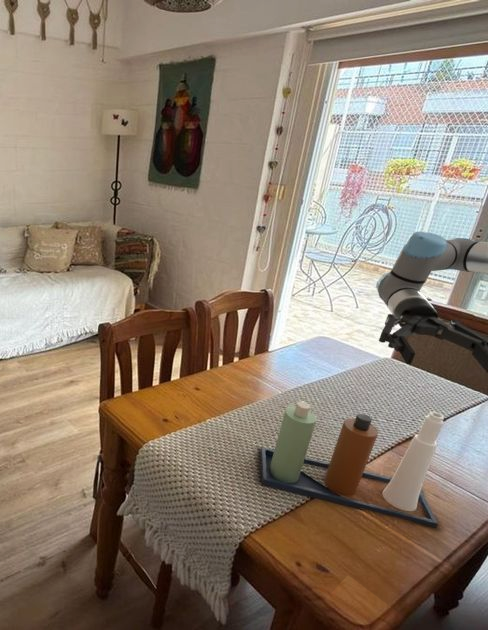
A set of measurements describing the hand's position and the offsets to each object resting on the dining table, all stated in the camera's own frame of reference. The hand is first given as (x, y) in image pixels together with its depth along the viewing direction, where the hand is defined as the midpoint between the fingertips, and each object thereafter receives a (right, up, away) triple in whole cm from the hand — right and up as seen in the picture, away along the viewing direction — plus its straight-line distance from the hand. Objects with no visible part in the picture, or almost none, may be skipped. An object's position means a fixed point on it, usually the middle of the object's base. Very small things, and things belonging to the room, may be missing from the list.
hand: (450, 363), depth 87 cm
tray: (-17, -28, +8) cm, 34 cm away
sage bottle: (-28, -26, +11) cm, 40 cm away
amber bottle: (-17, -28, +8) cm, 34 cm away
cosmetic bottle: (-7, -30, +5) cm, 31 cm away
